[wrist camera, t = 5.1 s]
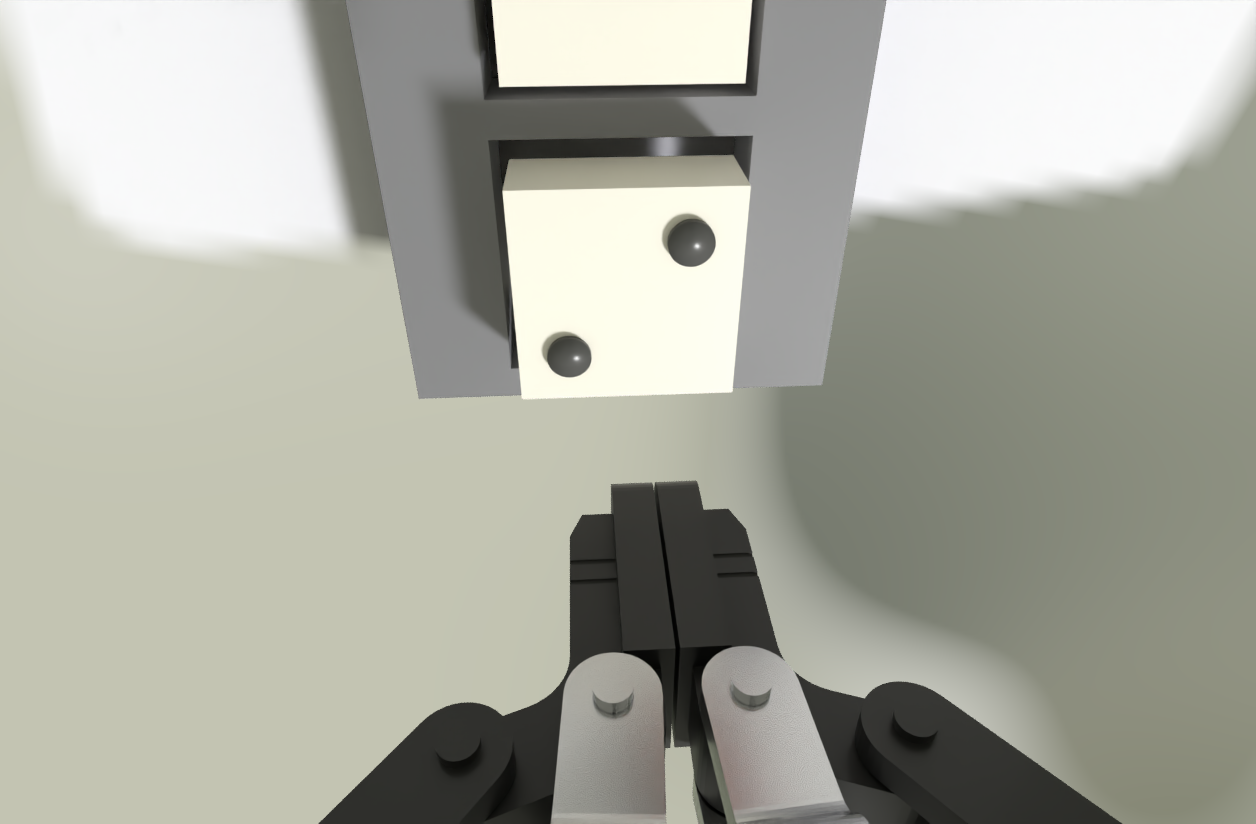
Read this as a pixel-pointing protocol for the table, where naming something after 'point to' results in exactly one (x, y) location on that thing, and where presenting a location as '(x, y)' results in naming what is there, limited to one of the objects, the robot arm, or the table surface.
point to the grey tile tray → (484, 113)
